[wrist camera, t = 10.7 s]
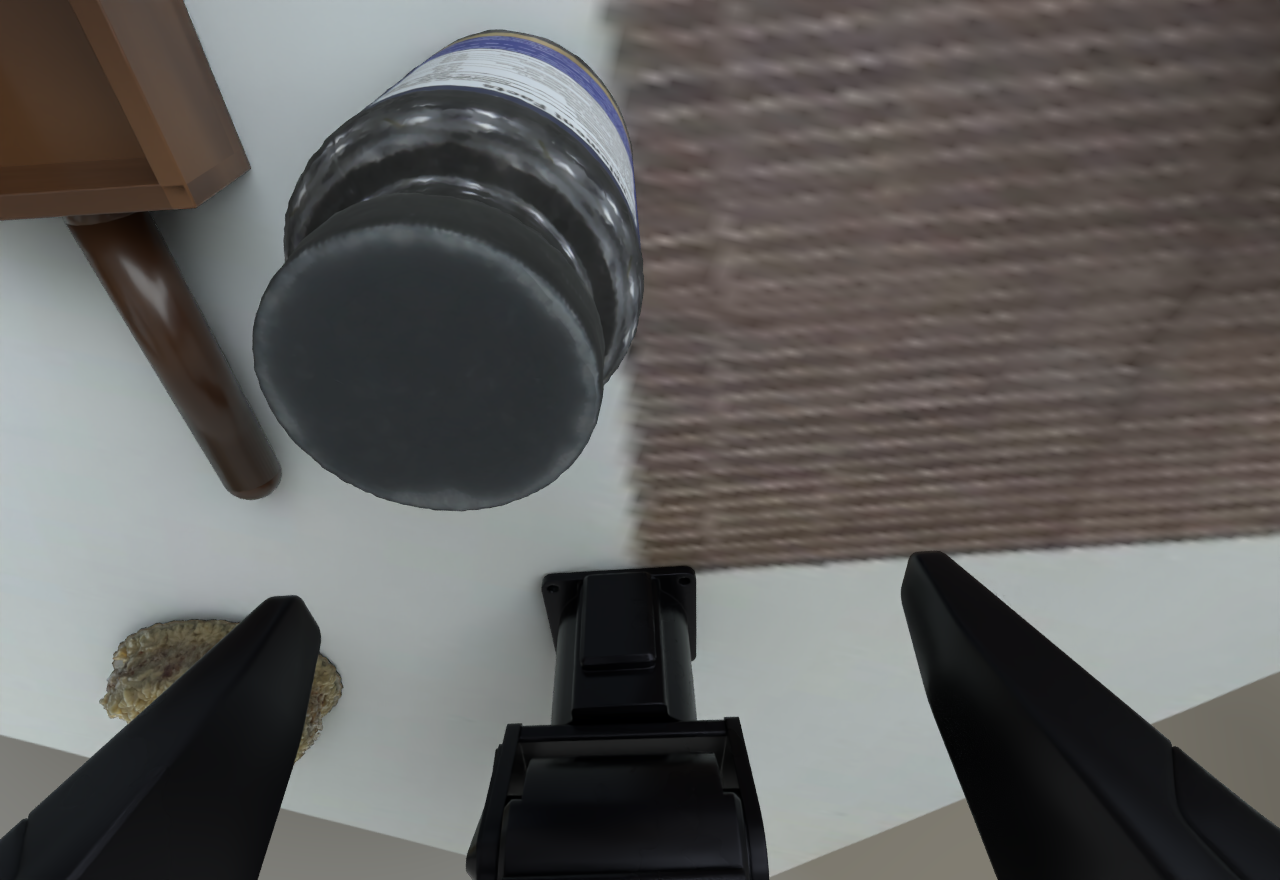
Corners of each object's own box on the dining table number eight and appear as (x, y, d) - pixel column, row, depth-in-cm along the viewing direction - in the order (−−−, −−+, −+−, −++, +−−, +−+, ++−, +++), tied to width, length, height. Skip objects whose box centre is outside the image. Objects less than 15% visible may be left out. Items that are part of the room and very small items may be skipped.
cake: (289, 588, 29) (247, 702, 25) (377, 704, 36) (354, 811, 31) (65, 628, 29) (-15, 749, 25) (192, 737, 35) (146, 848, 31)
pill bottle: (526, 306, 20) (462, 596, 12) (352, 151, 18) (99, 388, 9) (681, 165, 18) (742, 402, 9) (507, -42, 15) (365, 25, 6)
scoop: (371, 464, 24) (345, 523, 22) (181, 475, 24) (134, 536, 22) (77, -264, 13) (-45, -303, 10) (-284, -239, 13) (-484, -271, 10)
